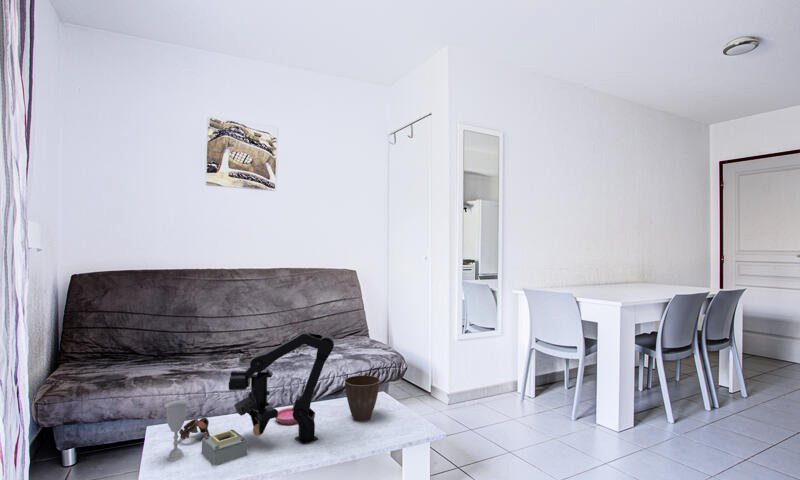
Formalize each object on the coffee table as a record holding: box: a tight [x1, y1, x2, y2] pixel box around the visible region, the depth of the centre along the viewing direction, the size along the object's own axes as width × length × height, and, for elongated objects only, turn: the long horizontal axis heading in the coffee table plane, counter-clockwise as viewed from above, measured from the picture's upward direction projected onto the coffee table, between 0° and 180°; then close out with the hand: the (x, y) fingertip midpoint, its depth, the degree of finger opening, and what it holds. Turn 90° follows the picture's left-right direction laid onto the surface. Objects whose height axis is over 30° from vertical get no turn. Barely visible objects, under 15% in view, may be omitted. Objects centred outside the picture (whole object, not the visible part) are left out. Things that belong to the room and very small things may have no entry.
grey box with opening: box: [201, 429, 248, 467], centre depth 148 cm, size 12×11×6 cm
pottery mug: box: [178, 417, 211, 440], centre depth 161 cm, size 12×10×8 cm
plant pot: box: [344, 374, 381, 422], centre depth 181 cm, size 15×15×16 cm
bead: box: [252, 424, 262, 436], centre depth 157 cm, size 4×4×4 cm
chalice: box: [164, 399, 189, 462], centre depth 146 cm, size 7×7×18 cm
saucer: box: [275, 407, 298, 425], centre depth 178 cm, size 12×12×3 cm
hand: (258, 431), depth 157 cm, fingers closed on bead, 4 cm apart
